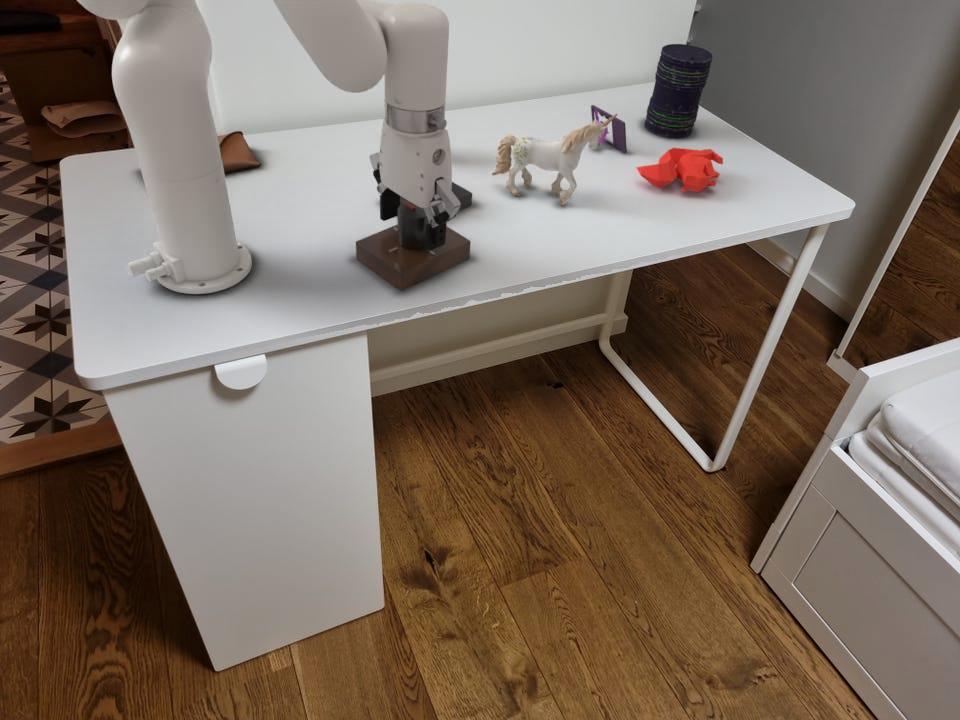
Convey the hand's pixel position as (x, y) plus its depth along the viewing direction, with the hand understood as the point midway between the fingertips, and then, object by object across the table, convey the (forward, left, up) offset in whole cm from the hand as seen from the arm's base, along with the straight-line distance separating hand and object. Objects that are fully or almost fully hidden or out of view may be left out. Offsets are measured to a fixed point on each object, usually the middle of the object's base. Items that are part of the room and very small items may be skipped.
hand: (412, 231), depth 101 cm
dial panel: (0, 0, -5) cm, 5 cm away
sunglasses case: (-10, +42, -5) cm, 43 cm away
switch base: (+12, +10, -5) cm, 17 cm away
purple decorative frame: (+53, +7, -5) cm, 54 cm away
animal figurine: (+52, -11, -5) cm, 54 cm away
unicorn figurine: (+32, +2, -5) cm, 33 cm away
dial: (0, 0, -2) cm, 2 cm away
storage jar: (+71, +4, -5) cm, 71 cm away
